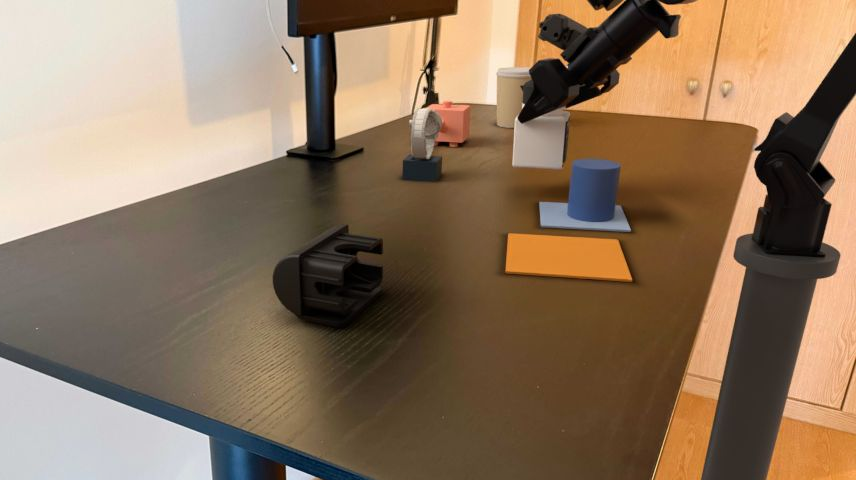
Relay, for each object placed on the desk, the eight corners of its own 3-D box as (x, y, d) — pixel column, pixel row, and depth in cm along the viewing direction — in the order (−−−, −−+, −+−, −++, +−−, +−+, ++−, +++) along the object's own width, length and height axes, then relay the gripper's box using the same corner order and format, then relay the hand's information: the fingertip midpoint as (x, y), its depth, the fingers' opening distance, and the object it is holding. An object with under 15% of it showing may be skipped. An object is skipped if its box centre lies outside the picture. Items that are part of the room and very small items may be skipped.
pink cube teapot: (418, 149, 136) (419, 105, 133) (433, 137, 147) (434, 96, 144) (458, 151, 134) (460, 106, 131) (470, 139, 144) (472, 97, 141)
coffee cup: (526, 130, 153) (531, 72, 148) (486, 126, 157) (489, 70, 153) (541, 123, 160) (546, 68, 155) (502, 120, 164) (506, 66, 160)
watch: (443, 172, 119) (446, 105, 115) (433, 184, 112) (435, 113, 108) (411, 170, 121) (412, 104, 116) (399, 181, 114) (400, 112, 109)
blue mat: (620, 207, 99) (620, 205, 99) (630, 232, 89) (631, 230, 89) (539, 203, 101) (539, 201, 101) (540, 227, 91) (540, 225, 91)
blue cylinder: (611, 210, 97) (618, 159, 94) (616, 223, 92) (623, 169, 89) (565, 207, 98) (571, 157, 96) (568, 220, 93) (573, 168, 90)
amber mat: (617, 241, 86) (618, 239, 86) (632, 282, 74) (632, 279, 74) (508, 235, 89) (508, 233, 88) (505, 273, 77) (505, 270, 77)
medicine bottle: (562, 170, 100) (570, 82, 96) (511, 167, 103) (516, 82, 98) (566, 159, 107) (573, 77, 102) (518, 157, 109) (523, 76, 104)
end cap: (323, 280, 75) (321, 220, 73) (384, 292, 73) (385, 228, 70) (273, 317, 67) (269, 250, 65) (340, 331, 64) (338, 262, 62)
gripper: (607, -10, 100) (529, 68, 111) (549, -8, 87) (467, 80, 97) (656, 50, 98) (573, 123, 109) (605, 61, 85) (515, 144, 96)
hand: (533, 116), depth 103 cm, fingers closed on medicine bottle, 8 cm apart
